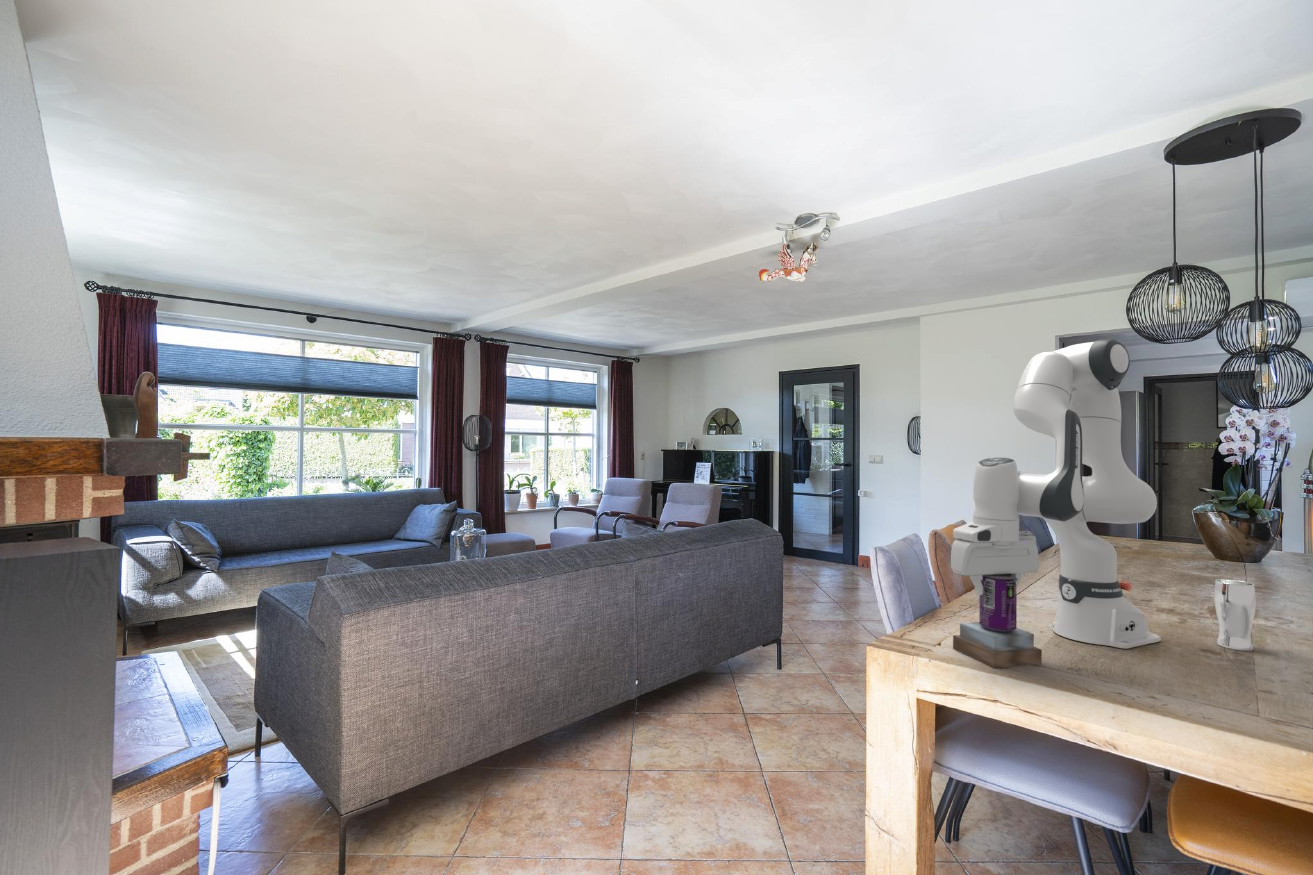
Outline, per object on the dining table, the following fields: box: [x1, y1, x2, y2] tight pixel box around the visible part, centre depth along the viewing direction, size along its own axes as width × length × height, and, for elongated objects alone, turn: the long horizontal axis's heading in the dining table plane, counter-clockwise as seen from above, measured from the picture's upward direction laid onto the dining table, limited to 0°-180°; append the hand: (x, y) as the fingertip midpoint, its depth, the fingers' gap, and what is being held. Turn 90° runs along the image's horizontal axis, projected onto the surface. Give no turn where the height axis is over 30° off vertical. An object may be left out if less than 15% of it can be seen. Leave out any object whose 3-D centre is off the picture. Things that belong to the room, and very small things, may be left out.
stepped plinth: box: [952, 621, 1043, 669], centre depth 131 cm, size 12×12×6 cm
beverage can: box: [978, 574, 1018, 632], centre depth 131 cm, size 7×7×12 cm
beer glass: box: [1213, 578, 1257, 652], centre depth 138 cm, size 7×7×15 cm
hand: (995, 593), depth 131 cm, fingers open, 6 cm apart
